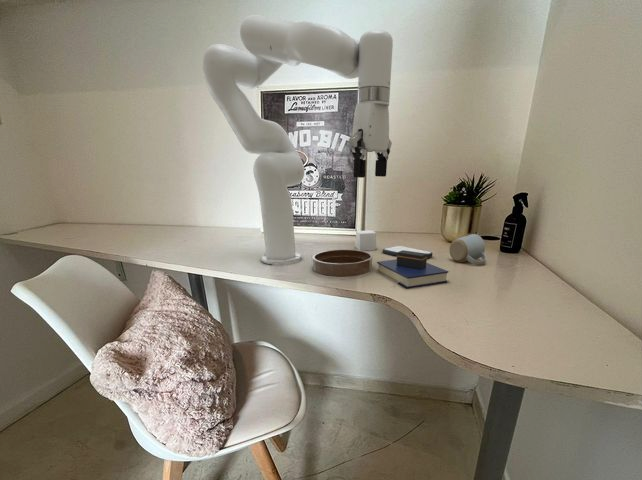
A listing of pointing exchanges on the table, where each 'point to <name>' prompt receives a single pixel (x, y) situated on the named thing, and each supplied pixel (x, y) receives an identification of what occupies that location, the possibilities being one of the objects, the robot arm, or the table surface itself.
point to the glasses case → (411, 259)
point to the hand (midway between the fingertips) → (370, 176)
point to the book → (413, 274)
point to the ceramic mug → (468, 249)
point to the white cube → (366, 240)
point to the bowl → (342, 262)
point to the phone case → (399, 248)
